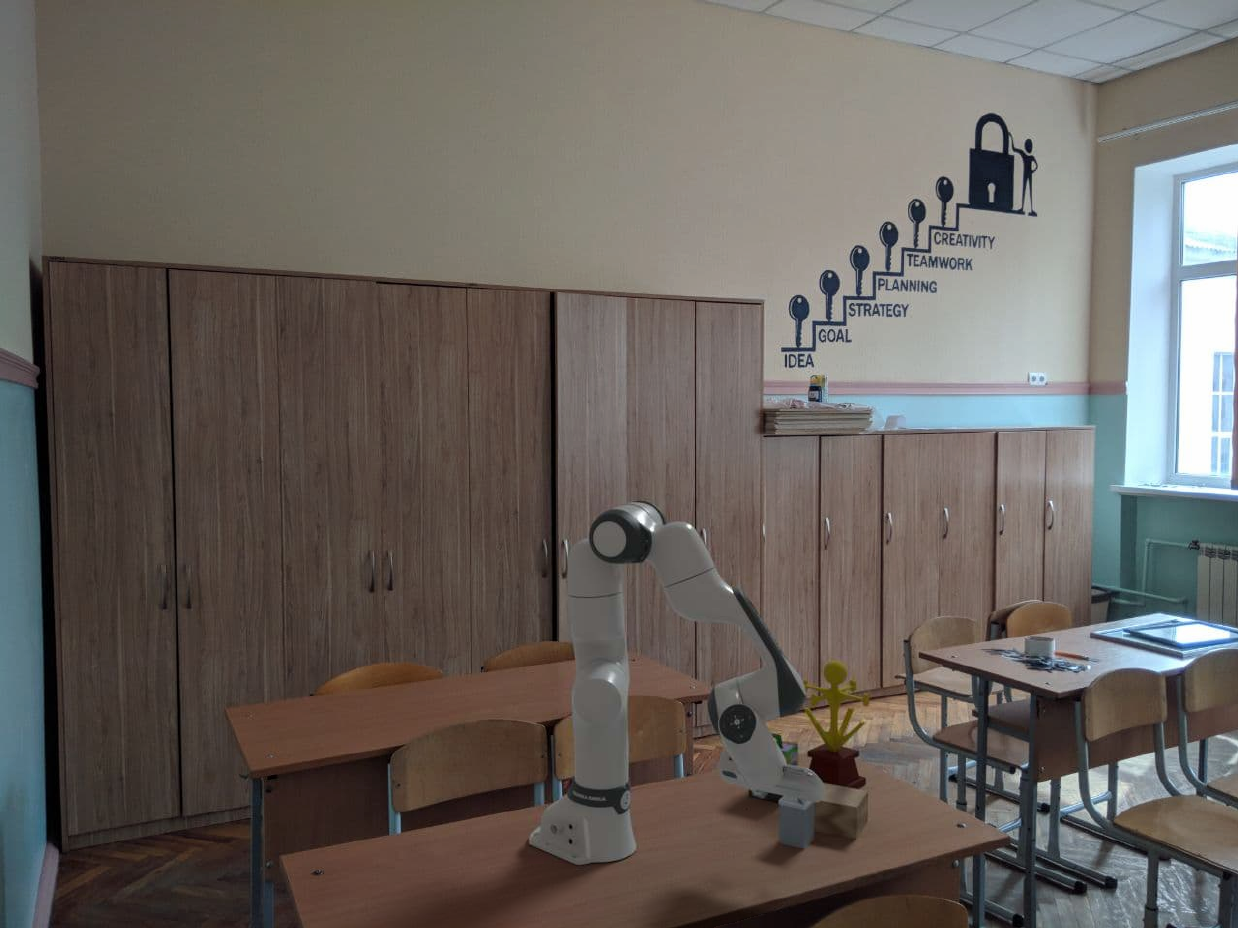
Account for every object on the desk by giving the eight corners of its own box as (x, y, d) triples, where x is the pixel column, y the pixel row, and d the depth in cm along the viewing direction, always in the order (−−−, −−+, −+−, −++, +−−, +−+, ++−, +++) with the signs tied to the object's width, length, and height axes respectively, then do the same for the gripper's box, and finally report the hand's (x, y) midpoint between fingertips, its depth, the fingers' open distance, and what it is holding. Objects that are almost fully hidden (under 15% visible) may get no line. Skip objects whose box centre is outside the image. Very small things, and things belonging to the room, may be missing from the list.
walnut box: (809, 830, 211) (810, 798, 210) (822, 813, 219) (823, 782, 219) (856, 839, 206) (856, 807, 206) (867, 822, 215) (868, 790, 214)
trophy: (793, 772, 244) (794, 653, 242) (855, 772, 244) (857, 653, 242) (805, 795, 229) (806, 668, 228) (871, 795, 229) (873, 668, 228)
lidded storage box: (778, 842, 204) (778, 800, 204) (788, 832, 209) (789, 791, 209) (804, 849, 201) (805, 806, 201) (814, 838, 206) (815, 796, 206)
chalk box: (799, 791, 232) (799, 729, 231) (784, 804, 224) (784, 740, 223) (762, 783, 237) (763, 723, 236) (746, 796, 229) (747, 733, 228)
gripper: (818, 758, 184) (835, 791, 193) (719, 739, 195) (740, 772, 204) (809, 789, 180) (827, 822, 189) (709, 768, 191) (731, 800, 200)
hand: (781, 796), depth 196 cm, fingers open, 8 cm apart
